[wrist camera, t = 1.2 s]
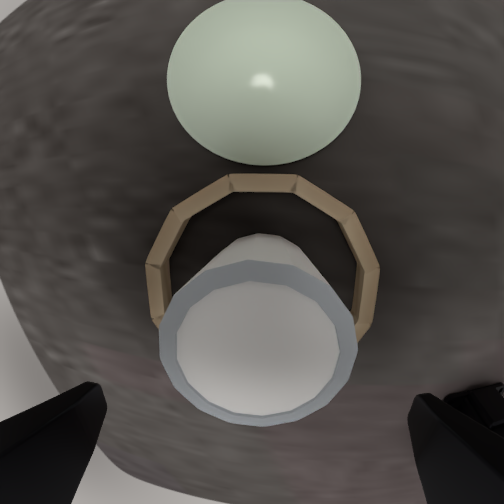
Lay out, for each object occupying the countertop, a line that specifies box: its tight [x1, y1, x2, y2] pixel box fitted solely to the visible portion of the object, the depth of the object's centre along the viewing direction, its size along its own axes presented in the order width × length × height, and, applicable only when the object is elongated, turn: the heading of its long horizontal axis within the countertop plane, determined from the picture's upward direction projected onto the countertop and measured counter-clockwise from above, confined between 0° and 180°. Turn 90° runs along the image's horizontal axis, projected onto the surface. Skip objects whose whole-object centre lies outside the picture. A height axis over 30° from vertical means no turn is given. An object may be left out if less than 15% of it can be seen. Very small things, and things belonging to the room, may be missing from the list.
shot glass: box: [159, 233, 358, 427], centre depth 13 cm, size 7×7×7 cm
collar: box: [145, 174, 380, 343], centre depth 16 cm, size 12×12×2 cm
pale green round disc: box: [167, 0, 361, 166], centre depth 14 cm, size 10×10×1 cm
